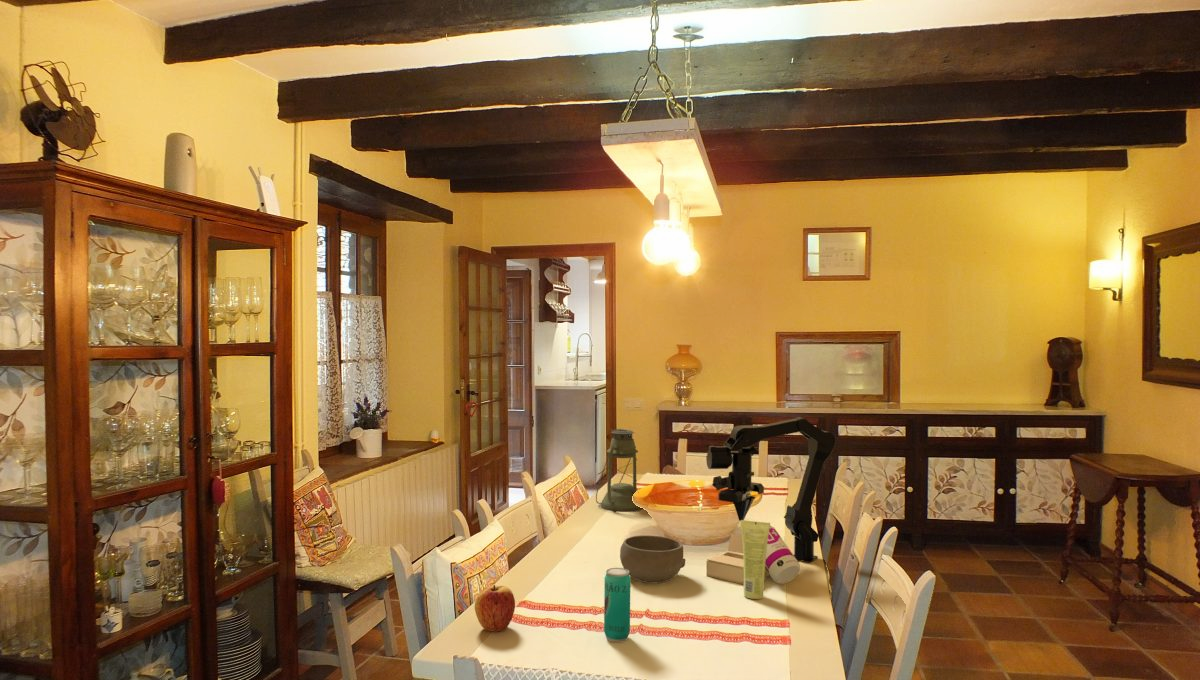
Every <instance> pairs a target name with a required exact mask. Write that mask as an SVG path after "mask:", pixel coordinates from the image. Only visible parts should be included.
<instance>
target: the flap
mask: <svg viewBox="0 0 1200 680" xmlns="http://www.w3.org/2000/svg"><path fill="white" fill-rule="evenodd" d="M729 537H730V539H729V543H728V548H727V551H728V552H733V553H738V554H743V539H742V534H741V535H740V534H736V533H730V536H729Z"/></svg>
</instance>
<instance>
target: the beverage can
mask: <svg viewBox="0 0 1200 680" xmlns="http://www.w3.org/2000/svg"><path fill="white" fill-rule="evenodd" d="M605 573H606V574H605V576H604V589H603V590H604V593H603V594H604V595H603V597H604V599H603V600H604V601H603V602H604V603H603V604H604V605H603V606H604V608H603V616H604V617H603V631H604V636H605V638H606V639H607V641H608V642H611V643H623V642H626V641H627V640H628V638H629V635H630V633H631V576H630V575H629V570H627V569H624V568H623V567H611V568H607V569H606V570H605Z"/></svg>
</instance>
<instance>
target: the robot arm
mask: <svg viewBox="0 0 1200 680" xmlns="http://www.w3.org/2000/svg"><path fill="white" fill-rule="evenodd" d="M794 433H795V434H796V433H800V434H801V435H802V436H803V437H805V438H806V439H807V440H808V444H807V449H808V458H807V462H806V463H807V464H806V466H805V470H804V474H803V476H802V477H803V478H802V480H801V484H800V487H799V492H798V495H797V498H796V501H795V502H794V504H793V505H792V506H791V505H787V506H786V513H785V514H784V516H783V519H784V523H785V526H786V528H787V529H788V530H789V531H790V534H791V535H792V536H793V539H794V540H793V541H794V542H793V543H794V545H793V546H794V547H793V548H794V549H793V555H794V557H795V558H796V560H797V561H801V562H806V563H812V562H813V561H816V560H817V559H818V558H819V557H818V555H814V553H815V552H814V551H815V543H816V542H818V540H819V537H820V534H819V533H818V532H817V531H815V529H814V528H813V527H812V524H813V512H812V511H813V510H812V506H813V503H814V499H815V496H816V493H817V490H818V486H819V482H820V479H821V474H822V472H823V469H824V465H825V462H826V461H827V459H828V458H829V457H830V456H831V455H832V453H833V451H834V449H835V448H836V447H835V446H836V443H837V439H836V438H835V435H834V434H833V433H831V432H829V431H825V430H822V429H820V427H817V426H816V425H814V424H812V423H811V422H809V421H808V420H807V419H806V418H803V417H800V416H797V417H794V418H791V419H786V420H781V421H776V422H772V423H767V424H762V425H750V424H749V425H736V426H734V427H733V428H732V430H730V436H729V437H728V438H727V440H726V441H725V442H724V444H723V445H721V446H720V445H719V446H717V445H716V446H715V445H709V446H708V450H707V453H706V456H705V458H706V466H707V468H708V470H727V469H728V470H729V468H730V467H731V468H732V469H731V471H729V472H728V475H727V476H725V477H722V476H721V475H718V476H714V477H713V479H712V484H711V485H712V487H713V488H715V490H716V491H719V492H718V494H717V497H718V498H717V499H718V501H721V502H727V503H728V502H729V503H733V505H734V509H735V511H736V515H737V518H738V521H739V522H741V520H745V519H746V517H747V514H748V512H749V510H750V508H751V505H752V504H753V502H754V500H755V499H756V496H755V495H754V496H752V494H751V493H752V492H754V493H757V494H758V495H762V494H765V493H764V492H765V486H764V485H763V484H762V483H761V482H752V477H754V476H755V471H753V470H752V468H753V466H752V465H753V464H752V461H753V459H752V457H753V455H759V453H760V451H759V450H757V449H756V448H755V446H754V445H755V444H758V443H760V442H761V441H763V440H767V439H771V438H776V437H781V436H785V435H790V434H794Z"/></svg>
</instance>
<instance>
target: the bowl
mask: <svg viewBox="0 0 1200 680" xmlns="http://www.w3.org/2000/svg"><path fill="white" fill-rule="evenodd" d="M619 558H620V563H621V565H622V568H624V569H627V570H629V576H630V578H632V579H635V580H637V581H640V582H644V583H651V584H656V583H663V582H667V581H670V580H672V579H674V578H675V577H676V576H677V575H678V573H680V570H681V569H682V568H684V567H685V565H686V558H684V546H683V543H682V542H680V540H677V539H674V538H671V537H666V536H662V535H661V536H659V535H647V534H645V535H641V534H640V535H635V536H629V537H627V538H625V539H624V540H623V542H622V544H621V546H620V550H619Z"/></svg>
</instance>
